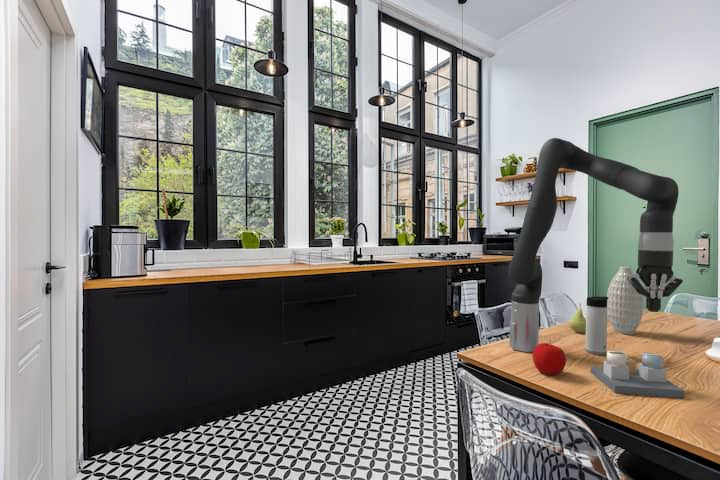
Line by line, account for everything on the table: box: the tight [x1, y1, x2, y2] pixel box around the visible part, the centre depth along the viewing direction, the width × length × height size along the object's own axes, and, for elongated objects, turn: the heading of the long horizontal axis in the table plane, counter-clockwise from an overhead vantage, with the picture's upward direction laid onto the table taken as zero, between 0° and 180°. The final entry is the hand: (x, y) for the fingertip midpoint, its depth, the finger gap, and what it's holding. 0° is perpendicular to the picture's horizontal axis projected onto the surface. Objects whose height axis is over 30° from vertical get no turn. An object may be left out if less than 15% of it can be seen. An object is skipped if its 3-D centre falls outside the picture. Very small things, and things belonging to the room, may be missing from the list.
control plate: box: [590, 360, 685, 399], centre depth 101 cm, size 16×14×6 cm
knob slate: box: [641, 352, 664, 369], centre depth 100 cm, size 4×4×6 cm
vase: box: [606, 266, 645, 335], centre depth 154 cm, size 13×13×28 cm
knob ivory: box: [606, 350, 627, 367], centre depth 101 cm, size 4×4×6 cm
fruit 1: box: [532, 339, 567, 376], centre depth 109 cm, size 9×9×10 cm
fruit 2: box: [569, 303, 586, 334], centre depth 154 cm, size 7×8×12 cm
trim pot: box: [626, 354, 637, 374], centre depth 105 cm, size 3×3×5 cm
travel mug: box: [585, 295, 608, 356], centre depth 128 cm, size 6×7×20 cm
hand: (653, 311), depth 99 cm, fingers closed
